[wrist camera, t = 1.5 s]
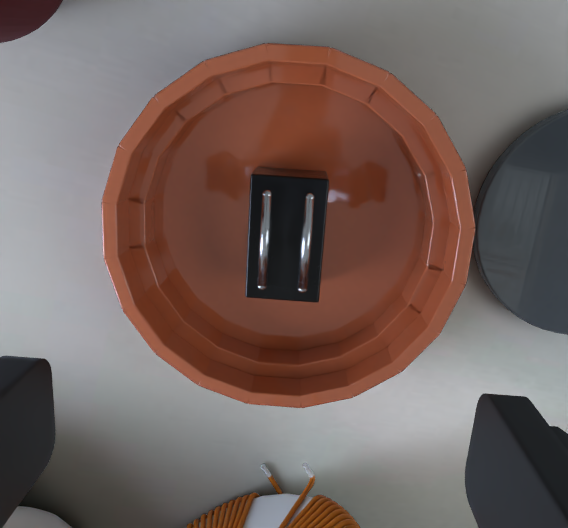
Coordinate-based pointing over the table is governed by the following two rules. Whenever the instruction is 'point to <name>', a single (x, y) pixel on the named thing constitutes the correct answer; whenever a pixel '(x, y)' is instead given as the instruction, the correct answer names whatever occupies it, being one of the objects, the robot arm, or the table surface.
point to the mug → (24, 16)
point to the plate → (528, 226)
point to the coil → (278, 510)
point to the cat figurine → (34, 519)
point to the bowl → (338, 231)
